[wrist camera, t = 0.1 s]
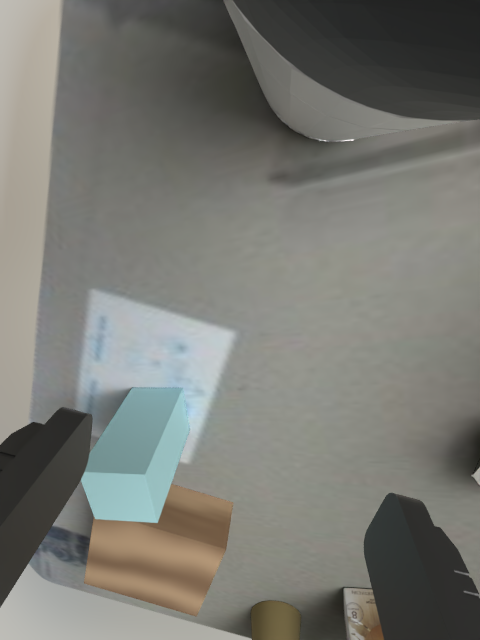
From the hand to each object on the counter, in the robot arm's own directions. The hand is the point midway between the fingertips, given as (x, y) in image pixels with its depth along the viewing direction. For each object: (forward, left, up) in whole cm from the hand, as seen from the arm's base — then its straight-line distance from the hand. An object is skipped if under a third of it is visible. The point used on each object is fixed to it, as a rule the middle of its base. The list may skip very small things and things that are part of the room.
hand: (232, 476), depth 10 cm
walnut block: (+30, -2, -18) cm, 35 cm away
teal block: (+15, -5, -17) cm, 23 cm away
